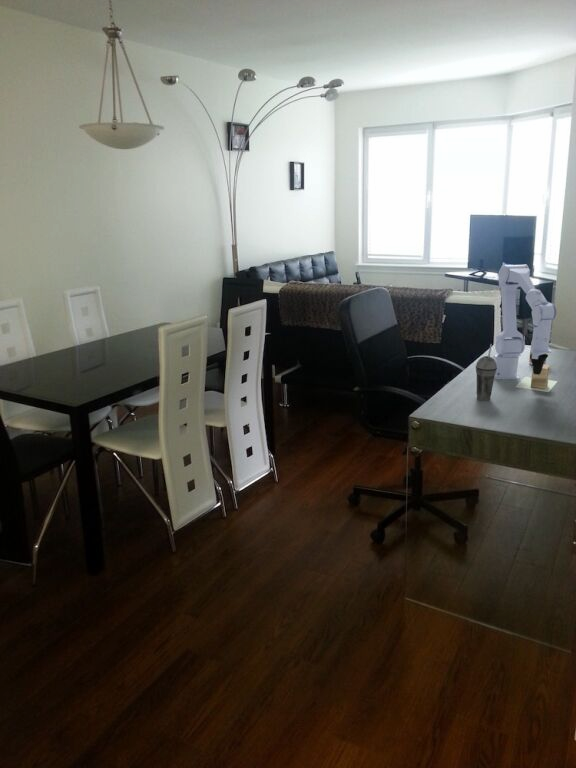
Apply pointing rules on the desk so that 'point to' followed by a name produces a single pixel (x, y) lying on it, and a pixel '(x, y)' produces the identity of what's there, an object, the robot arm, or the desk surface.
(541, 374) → the tan block
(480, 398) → the beverage cup
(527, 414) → the desk surface
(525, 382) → the mat
